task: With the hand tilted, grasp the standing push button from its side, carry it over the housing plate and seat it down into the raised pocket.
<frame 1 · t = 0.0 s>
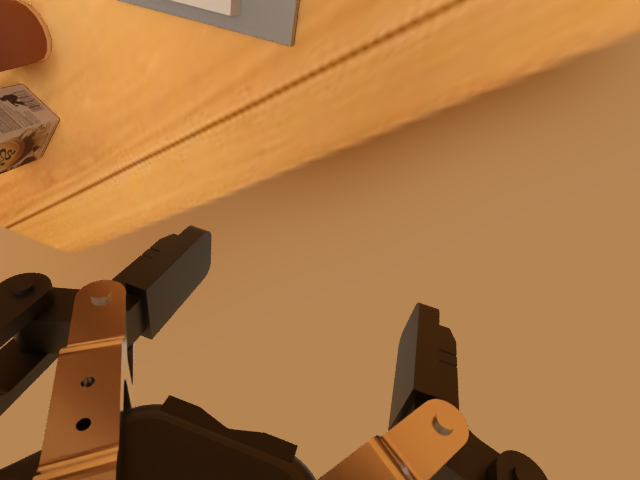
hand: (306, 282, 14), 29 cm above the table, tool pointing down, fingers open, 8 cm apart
coffee cup: (29, 31, 44), on the table
coffee box: (34, 122, 52), on the table
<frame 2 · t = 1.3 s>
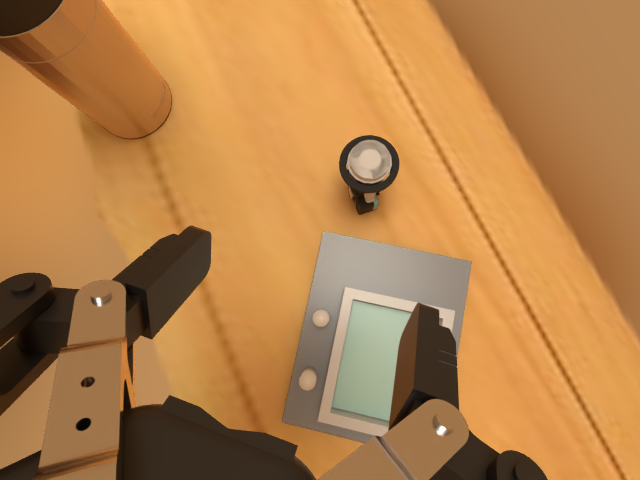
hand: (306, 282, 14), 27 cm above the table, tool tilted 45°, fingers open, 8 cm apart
housing: (377, 339, 39), on the table
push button: (360, 188, 42), on the table
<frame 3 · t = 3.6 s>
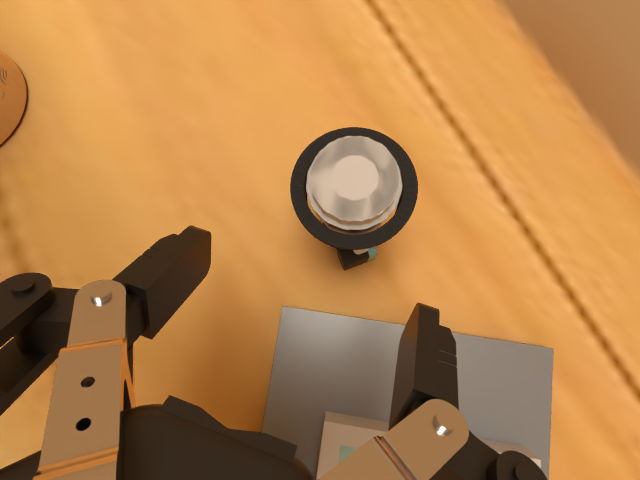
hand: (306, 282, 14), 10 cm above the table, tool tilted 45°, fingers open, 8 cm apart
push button: (344, 223, 25), on the table
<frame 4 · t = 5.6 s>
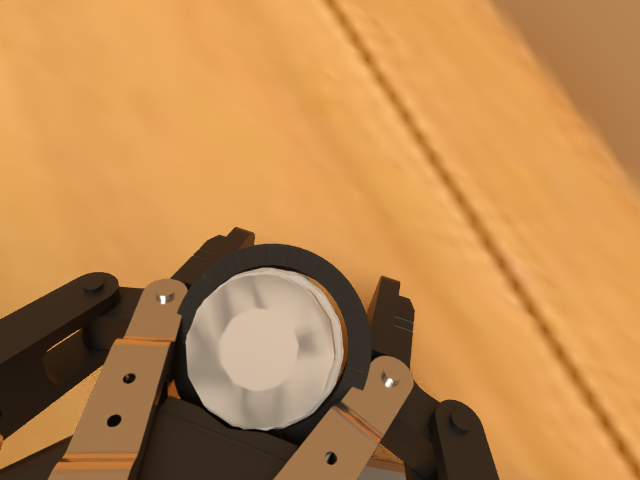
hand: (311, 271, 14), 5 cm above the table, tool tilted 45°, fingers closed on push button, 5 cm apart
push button: (305, 314, 19), on the table, touching gripper
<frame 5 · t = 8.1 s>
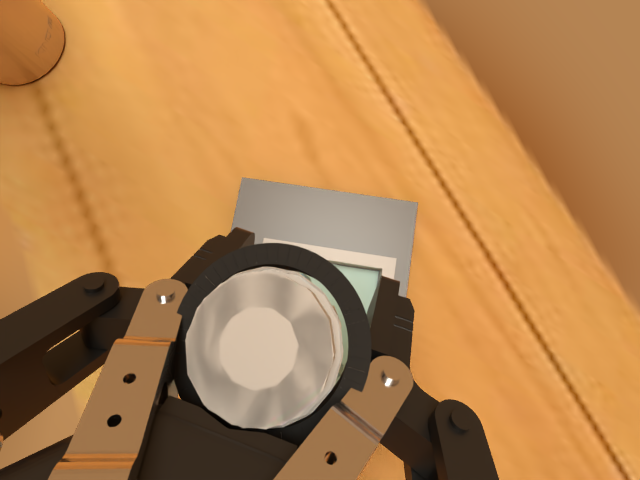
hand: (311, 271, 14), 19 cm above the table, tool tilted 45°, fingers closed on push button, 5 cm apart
housing: (310, 301, 32), on the table
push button: (306, 314, 19), point 14 cm above the table, touching gripper
when the fingers open (7 cm above the table, at t = 10.9 s): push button stays where it is, resting on housing.
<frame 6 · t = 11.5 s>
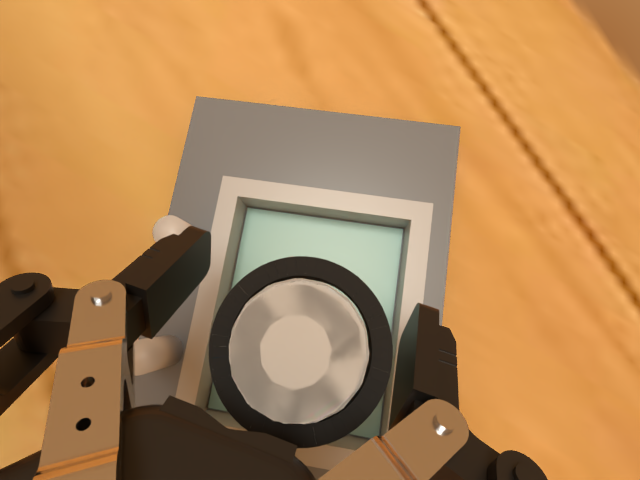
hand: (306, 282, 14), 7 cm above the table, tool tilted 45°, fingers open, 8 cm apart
housing: (298, 277, 21), on the table
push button: (313, 319, 20), point 1 cm above the table, touching housing
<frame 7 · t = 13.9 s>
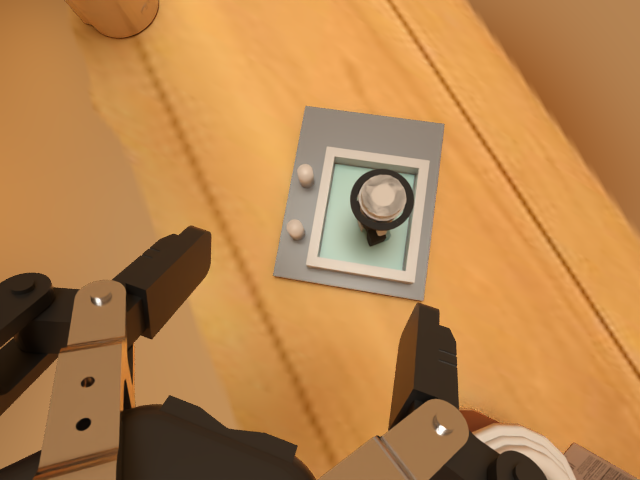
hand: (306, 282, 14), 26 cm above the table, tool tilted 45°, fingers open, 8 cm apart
coffee cup: (465, 441, 37), on the table
housing: (360, 200, 41), on the table
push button: (369, 218, 40), point 1 cm above the table, touching housing
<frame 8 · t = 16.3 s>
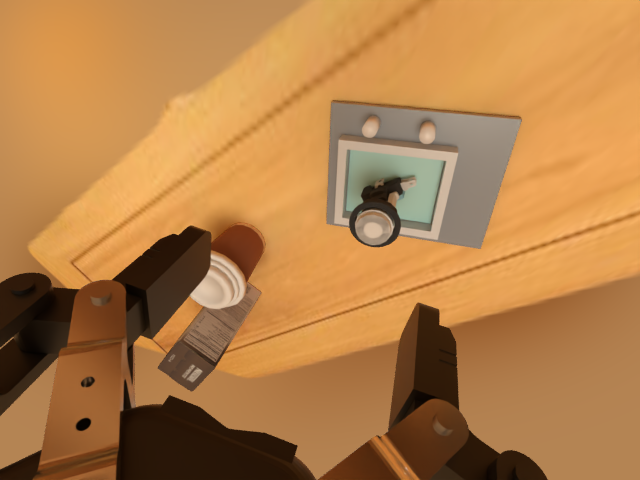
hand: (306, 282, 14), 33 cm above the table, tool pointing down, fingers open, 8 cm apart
coffee cup: (246, 240, 57), on the table
coffee box: (236, 294, 65), on the table
housing: (410, 176, 45), on the table
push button: (390, 186, 45), point 1 cm above the table, touching housing
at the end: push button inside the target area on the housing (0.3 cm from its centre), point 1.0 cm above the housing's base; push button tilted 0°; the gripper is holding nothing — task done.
